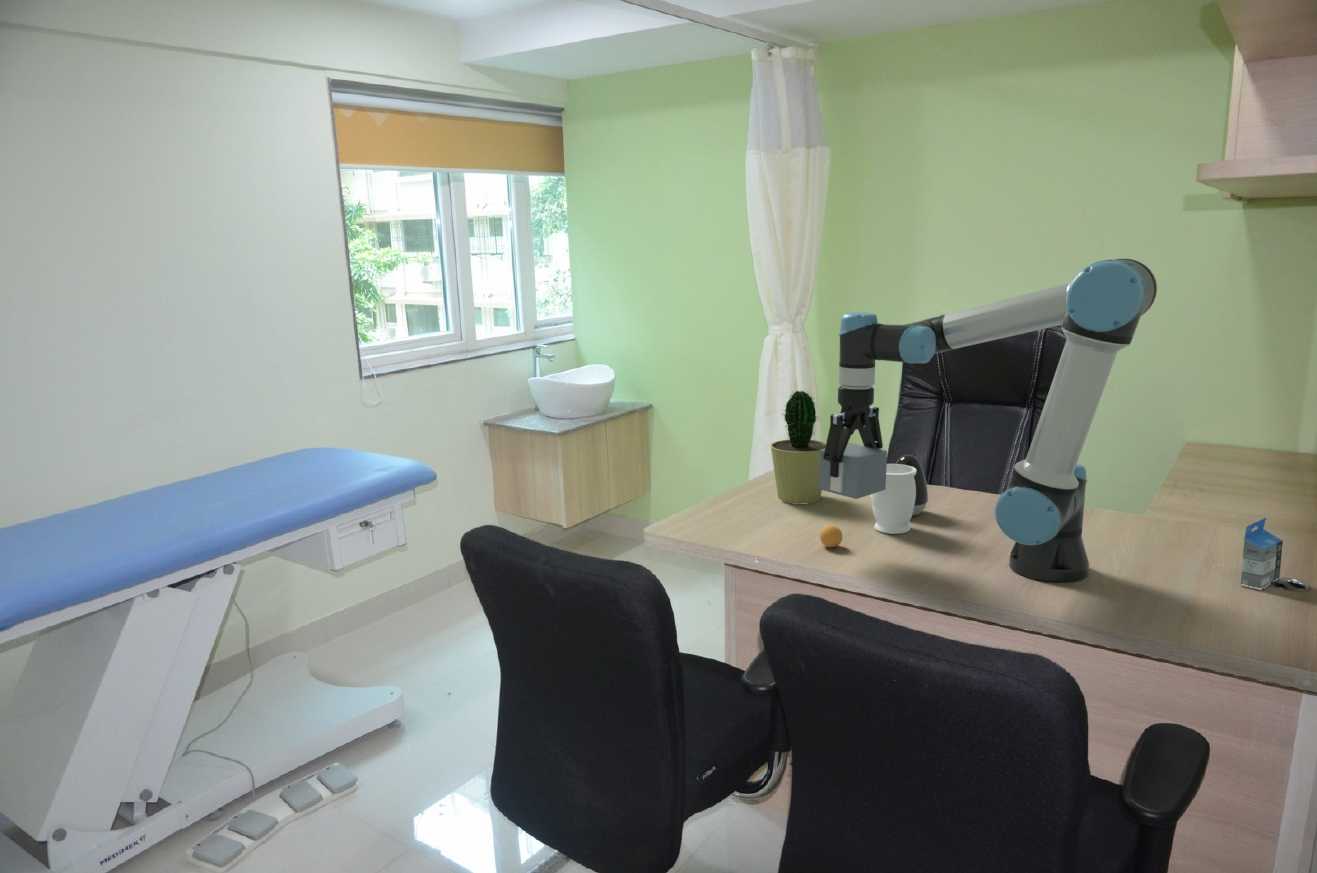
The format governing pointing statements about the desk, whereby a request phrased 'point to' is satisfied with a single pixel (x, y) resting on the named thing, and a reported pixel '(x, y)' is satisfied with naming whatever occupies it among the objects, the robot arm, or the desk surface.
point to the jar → (895, 500)
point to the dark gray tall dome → (917, 482)
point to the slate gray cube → (857, 471)
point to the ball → (831, 536)
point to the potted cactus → (798, 453)
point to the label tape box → (1260, 556)
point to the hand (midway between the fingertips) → (852, 486)
